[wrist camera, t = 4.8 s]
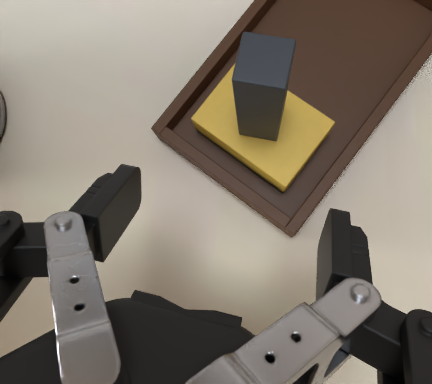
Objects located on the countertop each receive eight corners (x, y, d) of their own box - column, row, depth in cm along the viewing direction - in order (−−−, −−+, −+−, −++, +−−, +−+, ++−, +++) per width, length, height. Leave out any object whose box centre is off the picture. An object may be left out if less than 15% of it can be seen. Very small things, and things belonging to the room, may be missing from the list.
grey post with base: (196, 130, 29) (162, 58, 19) (240, 75, 30) (232, -26, 19) (283, 194, 28) (299, 153, 17) (328, 134, 28) (370, 60, 18)
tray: (157, 137, 30) (150, 128, 28) (315, -59, 32) (320, -82, 30) (291, 237, 28) (294, 235, 26) (455, 19, 29) (470, 1, 27)
